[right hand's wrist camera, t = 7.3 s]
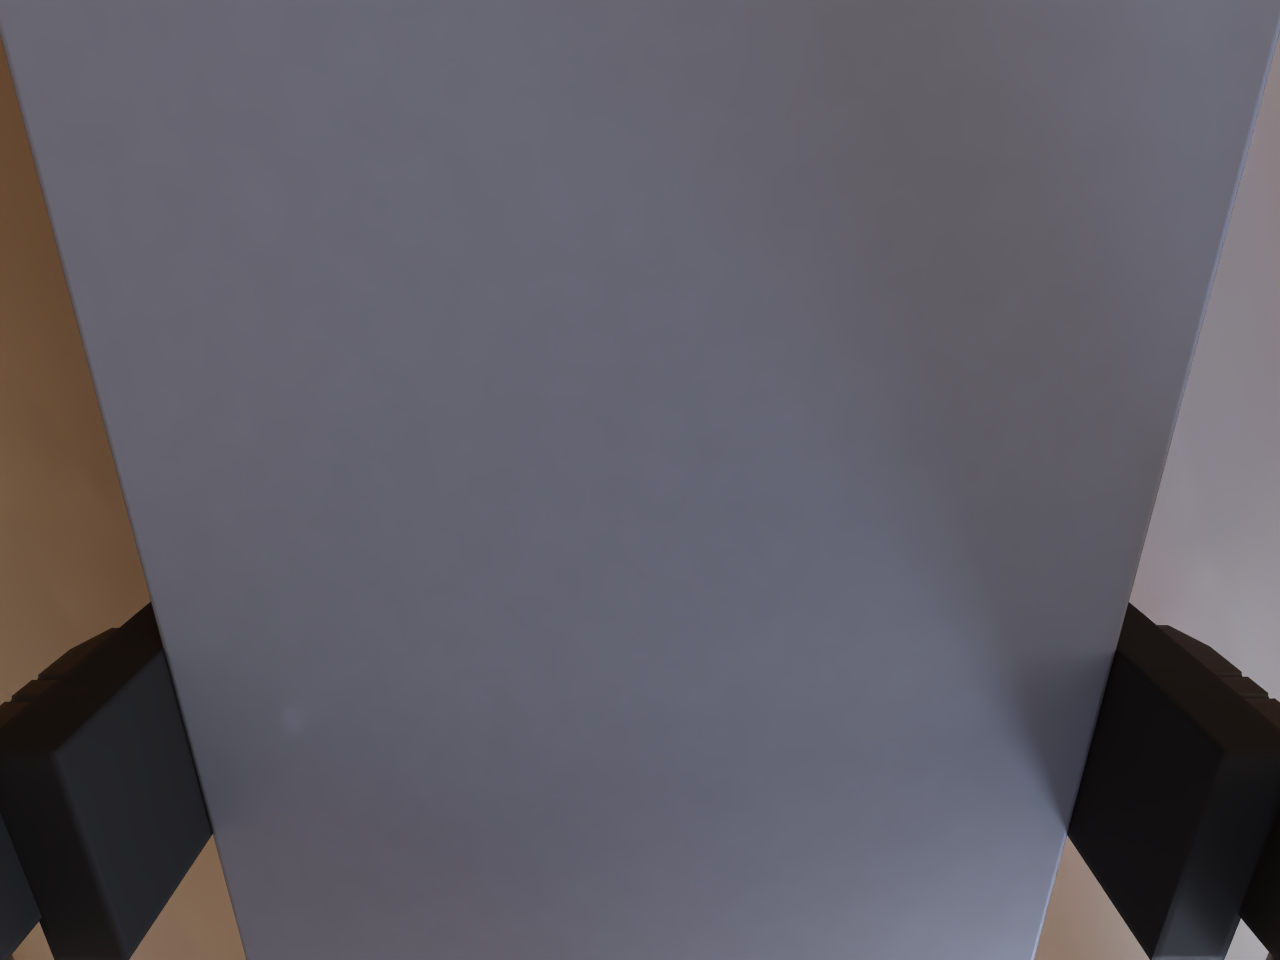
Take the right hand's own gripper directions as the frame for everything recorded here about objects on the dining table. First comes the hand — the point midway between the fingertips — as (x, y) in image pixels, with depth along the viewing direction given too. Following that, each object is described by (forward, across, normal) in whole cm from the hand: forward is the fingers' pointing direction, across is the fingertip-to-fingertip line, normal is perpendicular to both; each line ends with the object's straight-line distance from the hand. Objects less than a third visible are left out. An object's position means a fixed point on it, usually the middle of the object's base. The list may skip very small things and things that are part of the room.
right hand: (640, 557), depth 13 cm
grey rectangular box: (+5, 0, -5) cm, 7 cm away
